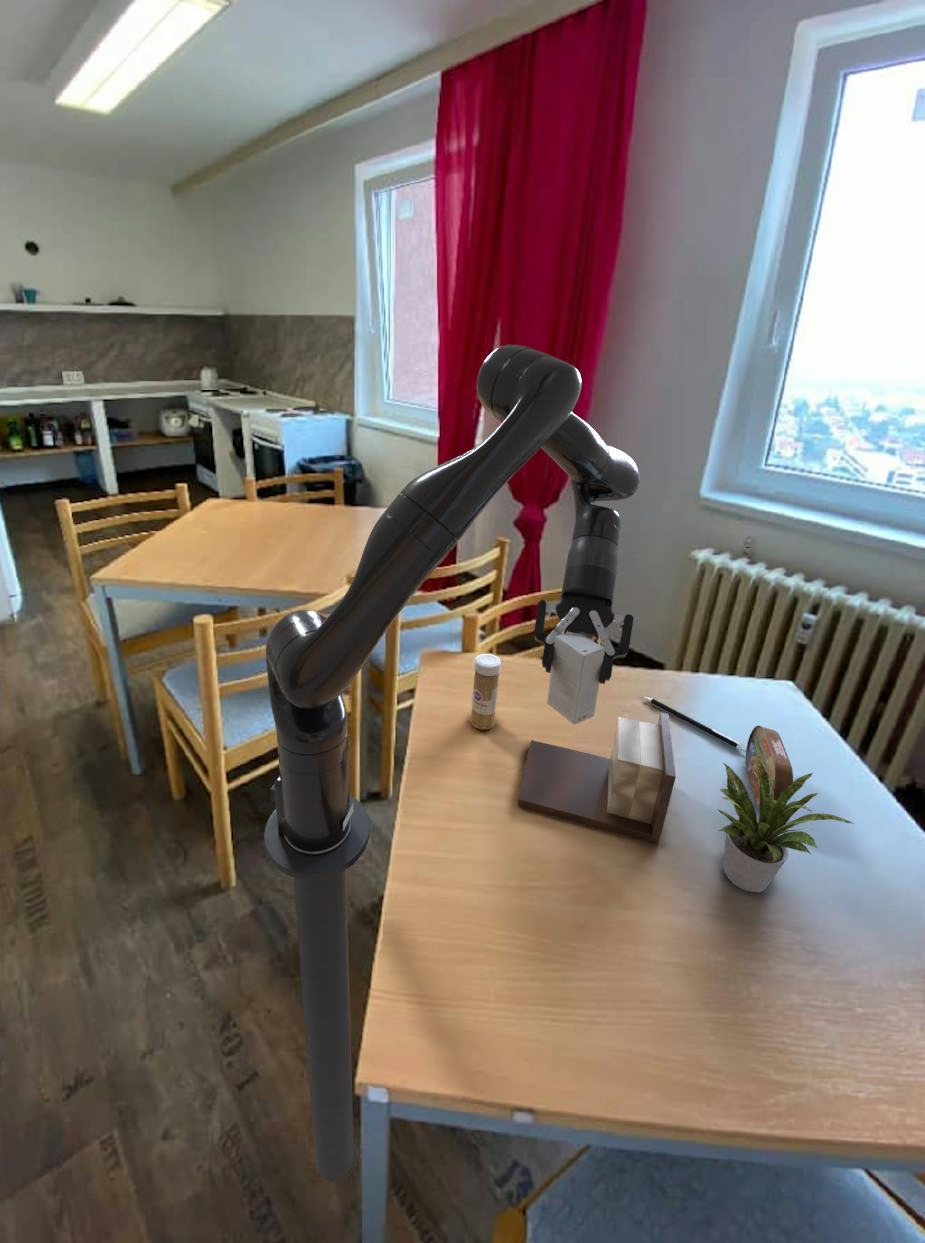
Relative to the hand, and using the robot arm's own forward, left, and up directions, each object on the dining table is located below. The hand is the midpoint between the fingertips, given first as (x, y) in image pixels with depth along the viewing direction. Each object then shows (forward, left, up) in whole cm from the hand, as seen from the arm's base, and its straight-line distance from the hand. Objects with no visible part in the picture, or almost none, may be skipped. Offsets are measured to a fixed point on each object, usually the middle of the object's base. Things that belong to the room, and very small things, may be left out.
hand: (574, 676), depth 84 cm
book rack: (+5, +1, -21) cm, 21 cm away
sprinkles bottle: (-14, +11, -21) cm, 27 cm away
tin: (+31, +11, -21) cm, 38 cm away
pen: (+22, +24, -21) cm, 38 cm away
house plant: (+27, -7, -21) cm, 34 cm away
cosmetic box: (0, +2, -7) cm, 7 cm away
